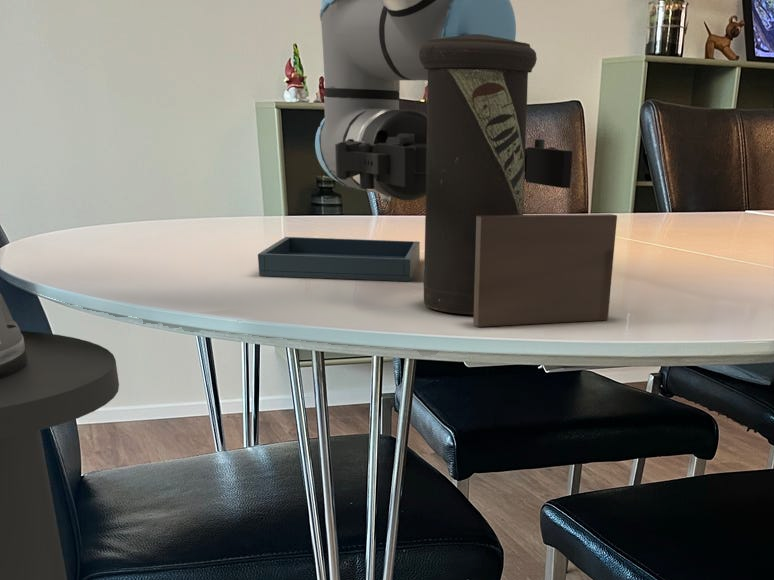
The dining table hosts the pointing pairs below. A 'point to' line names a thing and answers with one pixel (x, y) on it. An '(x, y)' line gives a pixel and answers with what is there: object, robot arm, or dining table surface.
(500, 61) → the container
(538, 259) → the brown wooden block
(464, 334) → the dining table surface
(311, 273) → the tray
